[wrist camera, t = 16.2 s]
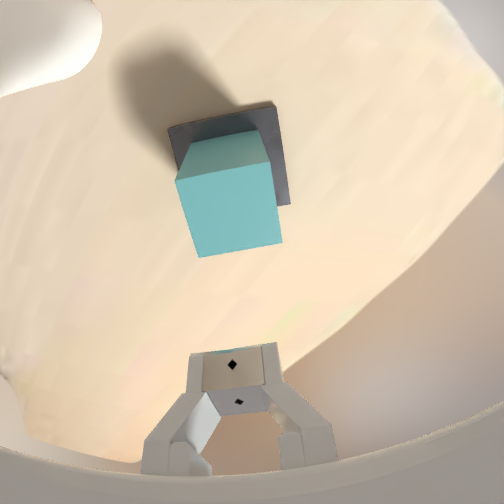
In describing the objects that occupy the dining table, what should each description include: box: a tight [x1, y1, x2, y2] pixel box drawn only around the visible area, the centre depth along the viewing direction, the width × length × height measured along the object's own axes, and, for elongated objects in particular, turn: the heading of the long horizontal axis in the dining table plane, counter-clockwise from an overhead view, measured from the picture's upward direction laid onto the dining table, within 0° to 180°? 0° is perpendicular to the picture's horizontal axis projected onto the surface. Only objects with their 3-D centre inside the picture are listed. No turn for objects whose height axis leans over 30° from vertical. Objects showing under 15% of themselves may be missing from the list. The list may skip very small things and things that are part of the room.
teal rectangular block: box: [175, 130, 282, 258], centre depth 23 cm, size 6×6×9 cm
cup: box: [0, 0, 102, 97], centre depth 12 cm, size 8×8×16 cm
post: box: [168, 106, 291, 206], centre depth 24 cm, size 9×9×7 cm
